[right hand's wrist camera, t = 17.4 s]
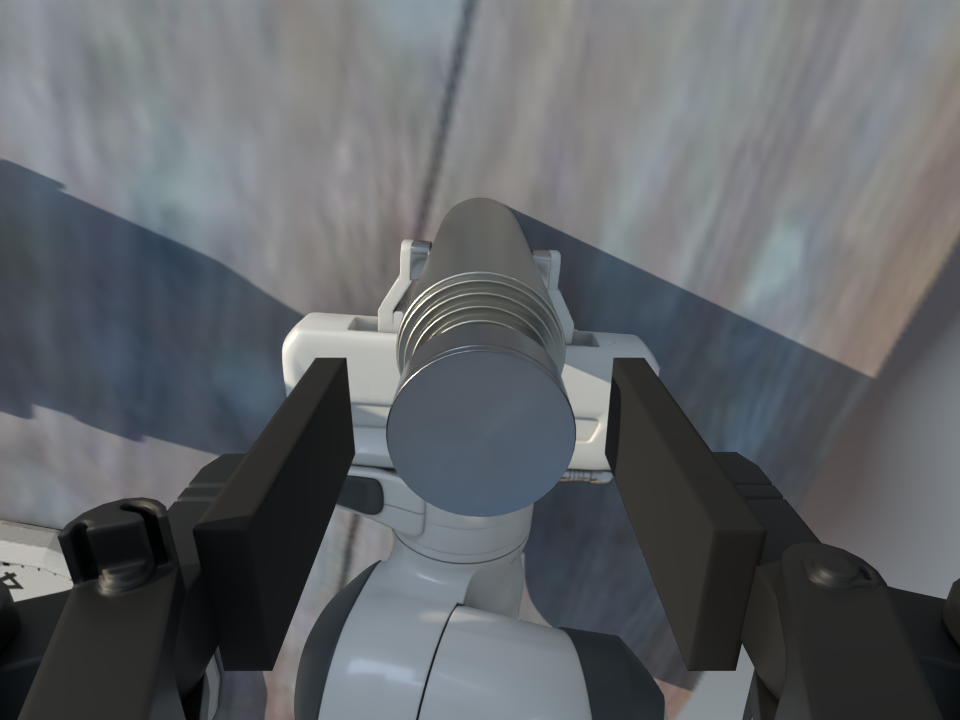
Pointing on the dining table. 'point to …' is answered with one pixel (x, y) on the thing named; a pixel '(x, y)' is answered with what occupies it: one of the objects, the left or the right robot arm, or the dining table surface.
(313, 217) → the dining table surface
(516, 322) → the bottle
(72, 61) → the dining table surface
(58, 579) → the wall clock
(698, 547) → the right robot arm
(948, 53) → the dining table surface
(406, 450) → the cap
